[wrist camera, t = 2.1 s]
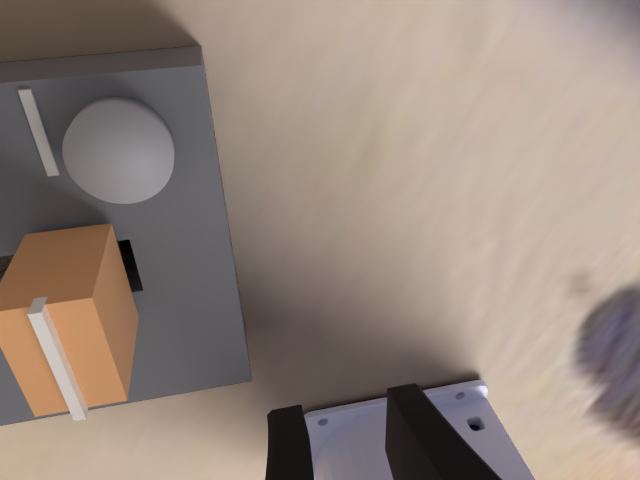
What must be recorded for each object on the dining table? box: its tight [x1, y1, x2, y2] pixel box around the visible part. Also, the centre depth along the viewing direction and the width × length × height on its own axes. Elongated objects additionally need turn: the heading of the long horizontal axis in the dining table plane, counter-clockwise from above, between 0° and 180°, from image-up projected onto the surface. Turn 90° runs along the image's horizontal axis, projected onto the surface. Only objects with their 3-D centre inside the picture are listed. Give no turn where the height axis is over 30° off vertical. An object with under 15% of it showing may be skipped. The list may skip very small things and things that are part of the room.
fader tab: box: [0, 223, 139, 421], centre depth 16 cm, size 2×4×6 cm, turn 2°
